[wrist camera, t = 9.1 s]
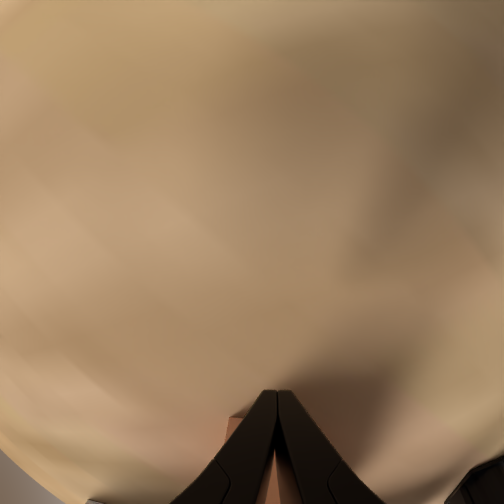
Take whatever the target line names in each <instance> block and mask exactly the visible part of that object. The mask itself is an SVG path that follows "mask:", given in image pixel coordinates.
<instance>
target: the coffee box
mask: <svg viewBox="0 0 504 504" xmlns="http://www.w3.org/2000/svg"><path fill="white" fill-rule="evenodd" d="M86 504H103V503H99V502H95V501H91V500H87V502H86Z"/></svg>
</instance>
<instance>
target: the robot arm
mask: <svg viewBox="0 0 504 504" xmlns="http://www.w3.org/2000/svg"><path fill="white" fill-rule="evenodd" d="M274 452H275V463H276V471H277V479H278V488H279V496H280V504H386V503H385V502H384V501H383V500H381V499H380V498H379V497H378V496H377V495H376V494H375V493H374V492H373V491H371V490H370V489H369V488H368V487H367V486H366V485H365V484H364V483H363V482H362V481H361V480H360V479H359V478H358V477H357V475H356V474H355V473H354V472H353V471H352V470H351V468H350V467H349V466H348V465H347V463H346V462H345V461H344V460H342V457H341V456H340V455H339V453H338V452H337V451H336V449H335V448H334V447H333V446H332V444H331V443H330V442H329V440H328V439H327V438H326V436H325V435H324V434H323V432H322V431H321V430H320V429H319V427H318V426H317V425H316V423H315V422H314V421H313V419H312V418H311V417H310V415H309V414H308V412H307V411H306V410H305V408H304V407H303V406H302V404H301V403H300V402H299V400H298V399H297V398H296V396H295V395H294V393H293V392H292V391H291V390H278V391H276V390H263V391H262V392H261V394H260V395H259V397H258V398H257V400H256V401H255V402H254V404H253V405H252V407H251V408H250V410H249V411H248V412H247V414H246V415H245V417H244V418H243V419H242V421H241V422H240V423H239V425H238V426H237V428H236V429H235V430H234V432H233V433H232V434H231V436H230V437H229V438H228V440H227V441H226V442H225V444H224V445H223V446H222V448H221V449H220V450H219V452H218V453H217V454H216V456H215V457H214V459H212V460H211V462H210V463H209V464H208V466H207V467H206V468H205V469H204V470H203V472H202V473H201V474H200V475H199V476H198V477H197V478H196V479H195V480H194V481H193V482H192V483H191V484H190V485H189V486H188V487H187V488H186V489H185V490H184V491H183V492H182V493H180V494H179V495H178V496H177V497H176V498H175V499H173V500H172V501H171V502H170V503H169V504H265V502H266V497H267V492H268V487H269V482H270V477H271V471H272V466H273V460H274ZM444 504H504V457H501V458H499V459H497V460H495V461H492V462H490V463H488V464H485V465H483V466H480V467H478V468H475V469H473V470H472V471H470V472H469V473H468V474H467V476H466V477H465V478H464V479H463V481H462V482H461V483H460V484H459V486H458V487H457V488H456V489H455V490H454V492H453V493H452V494H451V495H450V496H449V497H448V499H447V500H446V501H445V502H444Z"/></svg>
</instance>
